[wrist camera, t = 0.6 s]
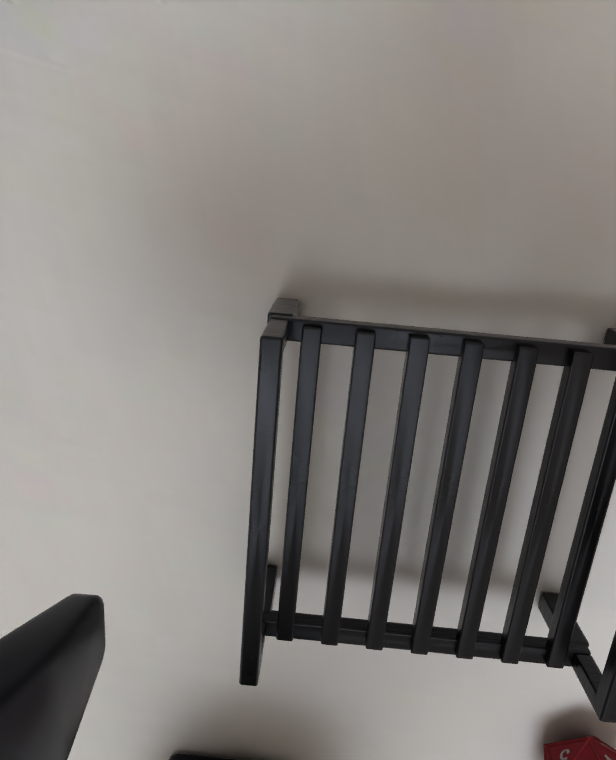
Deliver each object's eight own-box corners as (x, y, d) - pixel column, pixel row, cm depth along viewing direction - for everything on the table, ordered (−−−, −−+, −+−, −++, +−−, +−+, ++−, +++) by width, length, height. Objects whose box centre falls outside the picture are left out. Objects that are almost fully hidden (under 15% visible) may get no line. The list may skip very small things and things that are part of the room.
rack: (556, 609, 23) (620, 726, 18) (257, 579, 24) (235, 687, 18) (630, 329, 20) (736, 376, 15) (276, 297, 20) (256, 331, 15)
